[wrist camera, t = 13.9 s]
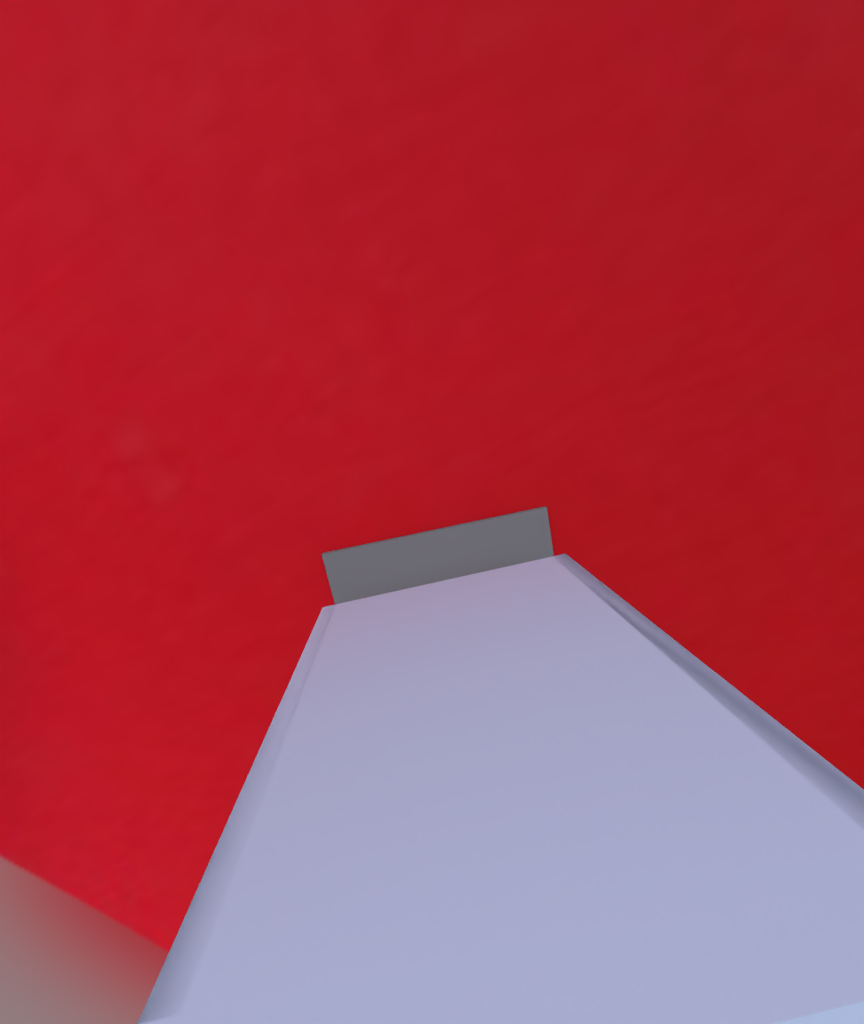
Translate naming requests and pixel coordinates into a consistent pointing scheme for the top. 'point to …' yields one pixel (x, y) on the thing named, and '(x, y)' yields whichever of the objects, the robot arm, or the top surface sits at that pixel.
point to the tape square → (438, 555)
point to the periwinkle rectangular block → (523, 831)
